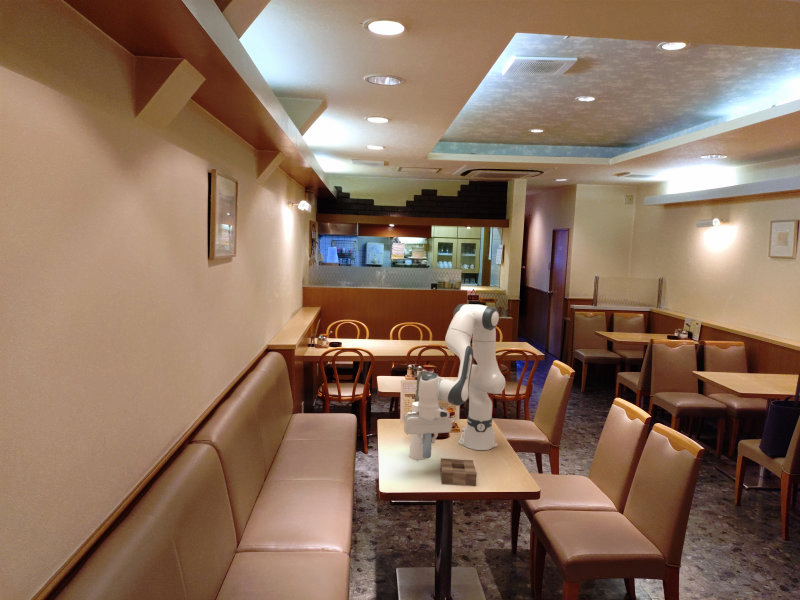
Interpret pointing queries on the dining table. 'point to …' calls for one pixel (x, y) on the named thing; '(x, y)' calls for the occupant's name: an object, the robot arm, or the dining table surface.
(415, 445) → the cylindrical container
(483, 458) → the dining table surface
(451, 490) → the dining table surface
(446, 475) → the socket block
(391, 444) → the dining table surface
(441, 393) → the robot arm
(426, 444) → the peg
